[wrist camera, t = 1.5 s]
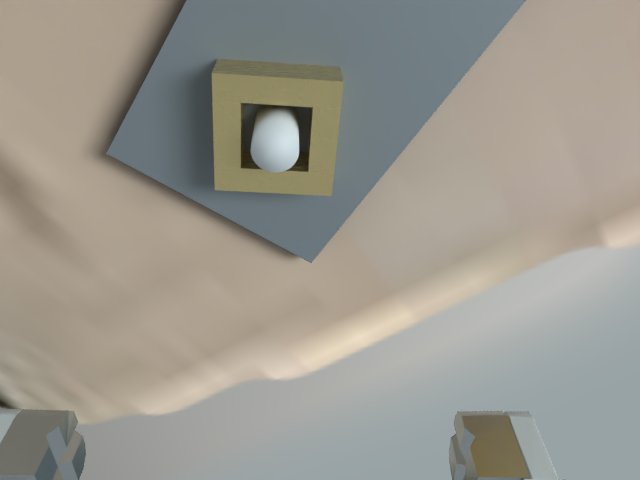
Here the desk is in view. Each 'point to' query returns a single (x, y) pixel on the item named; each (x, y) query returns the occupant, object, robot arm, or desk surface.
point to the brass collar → (275, 89)
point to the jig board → (293, 121)
